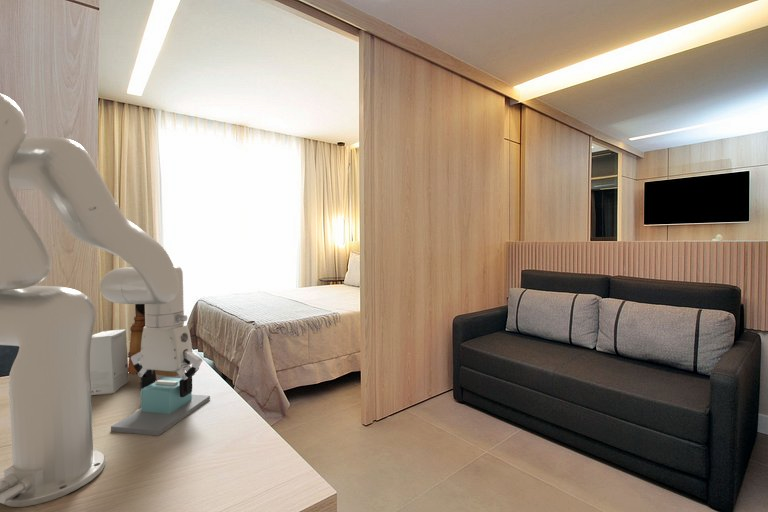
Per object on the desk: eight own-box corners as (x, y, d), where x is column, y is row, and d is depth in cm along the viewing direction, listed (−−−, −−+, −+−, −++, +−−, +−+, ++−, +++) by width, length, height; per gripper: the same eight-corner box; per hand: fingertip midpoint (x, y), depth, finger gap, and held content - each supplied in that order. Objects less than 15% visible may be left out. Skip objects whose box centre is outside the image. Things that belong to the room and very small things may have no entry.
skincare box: (114, 394, 90) (112, 336, 89) (86, 396, 88) (84, 337, 87) (129, 381, 98) (127, 328, 97) (104, 383, 96) (102, 329, 96)
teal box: (191, 399, 84) (191, 376, 84) (169, 413, 77) (168, 388, 77) (165, 397, 85) (164, 374, 85) (141, 411, 78) (140, 386, 78)
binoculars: (122, 370, 106) (120, 304, 105) (152, 362, 113) (150, 300, 112) (152, 383, 96) (150, 310, 95) (183, 374, 103) (181, 306, 102)
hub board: (158, 435, 71) (158, 412, 70) (110, 431, 72) (110, 408, 72) (209, 399, 86) (209, 380, 86) (169, 396, 88) (169, 377, 88)
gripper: (210, 317, 83) (211, 389, 84) (145, 315, 85) (147, 384, 86) (187, 325, 75) (189, 403, 76) (117, 322, 78) (119, 398, 79)
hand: (167, 393), depth 81 cm, fingers open, 9 cm apart
